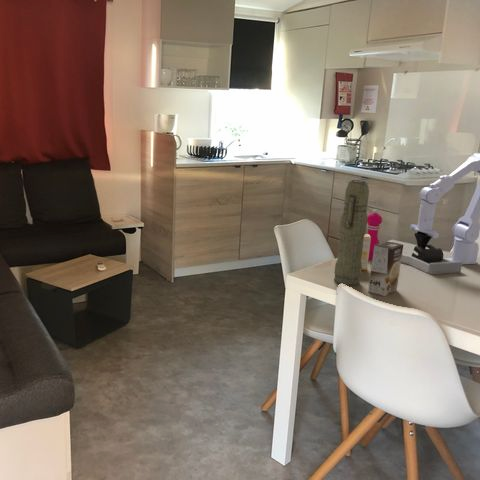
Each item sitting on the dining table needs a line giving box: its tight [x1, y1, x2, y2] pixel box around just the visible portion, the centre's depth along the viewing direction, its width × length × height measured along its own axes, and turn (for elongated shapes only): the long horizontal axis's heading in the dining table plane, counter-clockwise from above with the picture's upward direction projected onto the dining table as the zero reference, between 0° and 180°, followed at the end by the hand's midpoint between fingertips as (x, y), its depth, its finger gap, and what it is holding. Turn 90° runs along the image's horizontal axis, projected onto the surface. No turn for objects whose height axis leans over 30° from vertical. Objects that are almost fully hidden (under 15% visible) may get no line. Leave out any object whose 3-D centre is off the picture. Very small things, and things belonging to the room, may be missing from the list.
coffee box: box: [367, 240, 404, 297], centre depth 178 cm, size 9×6×16 cm
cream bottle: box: [361, 233, 371, 271], centre depth 201 cm, size 8×5×13 cm, turn 84°
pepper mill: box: [366, 209, 383, 261], centre depth 215 cm, size 7×7×20 cm
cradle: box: [401, 253, 463, 275], centre depth 211 cm, size 18×17×4 cm
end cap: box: [411, 244, 444, 264], centre depth 212 cm, size 10×7×7 cm
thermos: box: [333, 179, 370, 287], centre depth 182 cm, size 9×12×35 cm
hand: (421, 251), depth 216 cm, fingers closed
